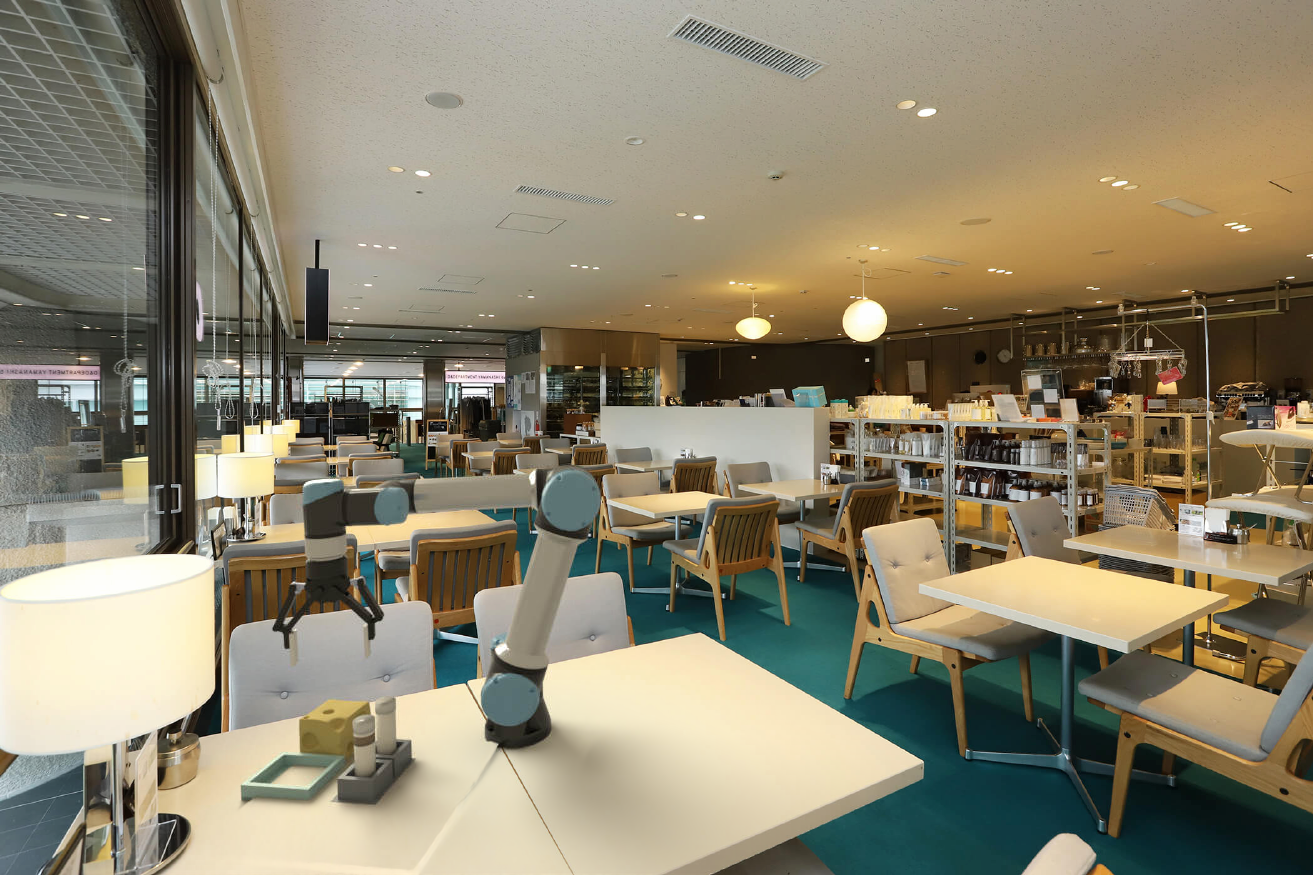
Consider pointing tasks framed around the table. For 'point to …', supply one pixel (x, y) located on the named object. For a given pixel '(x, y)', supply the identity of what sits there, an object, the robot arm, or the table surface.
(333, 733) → the cheese
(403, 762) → the fuse block
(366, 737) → the banded white cylinder
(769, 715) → the table surface
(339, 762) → the pale green rectangular frame
